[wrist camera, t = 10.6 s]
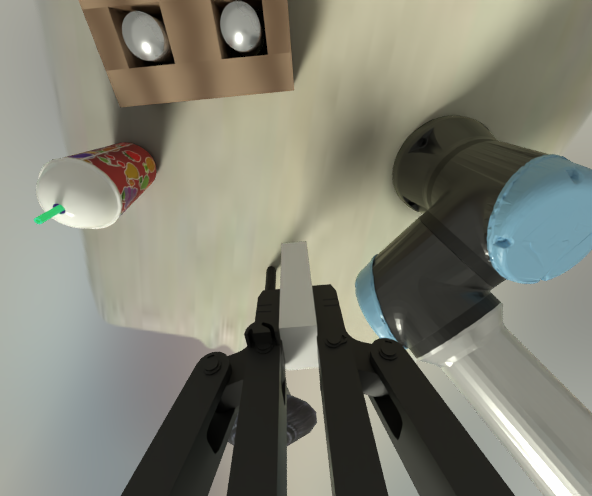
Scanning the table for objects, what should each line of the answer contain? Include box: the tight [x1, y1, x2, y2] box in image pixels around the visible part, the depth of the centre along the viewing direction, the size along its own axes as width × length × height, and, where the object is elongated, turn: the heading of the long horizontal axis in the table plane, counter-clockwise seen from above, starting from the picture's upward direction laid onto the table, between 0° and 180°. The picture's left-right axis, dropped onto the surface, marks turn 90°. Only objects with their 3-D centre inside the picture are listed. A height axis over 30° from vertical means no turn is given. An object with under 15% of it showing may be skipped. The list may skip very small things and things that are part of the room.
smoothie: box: [34, 142, 156, 229], centre depth 33 cm, size 8×8×20 cm
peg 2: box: [220, 1, 264, 57], centre depth 31 cm, size 4×4×8 cm
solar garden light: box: [228, 267, 317, 446], centre depth 41 cm, size 12×12×30 cm
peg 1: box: [122, 11, 175, 64], centre depth 31 cm, size 4×4×8 cm
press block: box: [79, 0, 294, 107], centre depth 31 cm, size 20×12×8 cm, turn 95°
